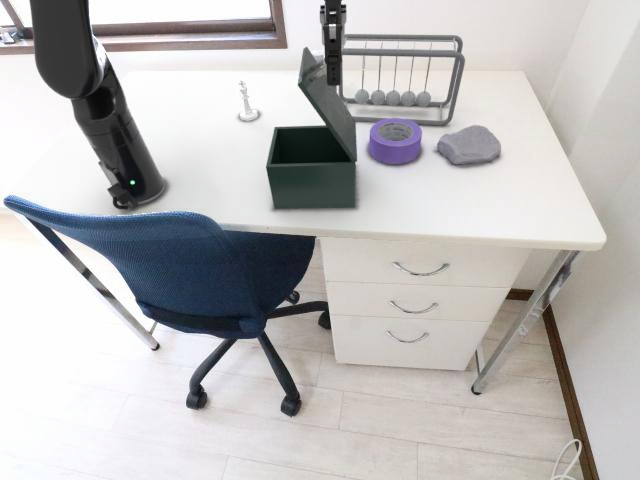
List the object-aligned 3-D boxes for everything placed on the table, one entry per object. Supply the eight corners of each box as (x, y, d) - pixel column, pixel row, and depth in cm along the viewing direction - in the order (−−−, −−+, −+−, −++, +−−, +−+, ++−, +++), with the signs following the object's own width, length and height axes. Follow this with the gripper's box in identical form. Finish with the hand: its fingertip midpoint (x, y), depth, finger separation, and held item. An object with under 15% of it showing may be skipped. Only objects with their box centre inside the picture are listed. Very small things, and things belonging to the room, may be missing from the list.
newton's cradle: (332, 120, 98) (330, 50, 85) (339, 100, 105) (337, 33, 92) (450, 126, 93) (467, 53, 80) (449, 105, 100) (464, 34, 87)
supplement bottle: (319, 92, 109) (317, 58, 102) (307, 86, 112) (304, 52, 105) (332, 85, 111) (331, 51, 104) (320, 80, 114) (318, 46, 107)
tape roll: (358, 149, 89) (359, 131, 85) (392, 130, 94) (394, 112, 90) (395, 171, 83) (397, 152, 79) (429, 149, 87) (433, 131, 84)
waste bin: (274, 208, 77) (265, 166, 69) (281, 168, 86) (274, 126, 78) (354, 207, 76) (355, 164, 68) (353, 166, 85) (353, 124, 77)
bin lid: (297, 84, 57) (324, 67, 55) (303, 48, 66) (326, 32, 64) (353, 163, 68) (378, 151, 65) (352, 123, 77) (373, 111, 74)
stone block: (500, 162, 85) (476, 133, 90) (509, 147, 81) (483, 118, 86) (455, 178, 83) (432, 147, 88) (462, 163, 79) (438, 132, 84)
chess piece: (254, 121, 101) (247, 85, 93) (237, 120, 101) (228, 84, 94) (260, 111, 104) (253, 76, 96) (243, 110, 105) (235, 75, 97)
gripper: (307, -59, 55) (313, 59, 68) (300, -33, 46) (309, 98, 58) (358, -61, 55) (355, 58, 67) (362, -36, 45) (357, 97, 58)
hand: (334, 76), depth 63 cm, fingers closed on bin lid, 5 cm apart
